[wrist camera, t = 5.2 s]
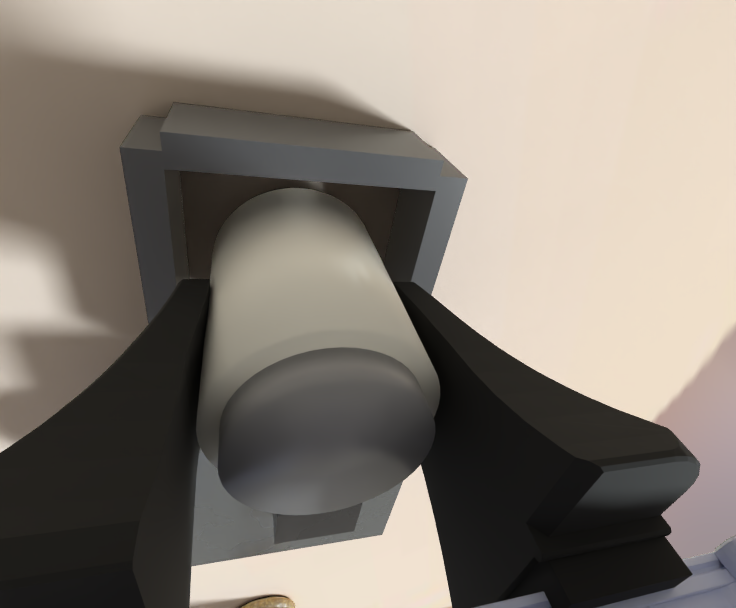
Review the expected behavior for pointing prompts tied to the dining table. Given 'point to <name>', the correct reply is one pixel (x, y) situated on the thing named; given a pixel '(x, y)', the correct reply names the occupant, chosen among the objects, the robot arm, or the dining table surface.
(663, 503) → the robot arm
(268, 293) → the white gray cylinder
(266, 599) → the sprinkles bottle
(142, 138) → the dark grey square tray
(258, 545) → the drawer
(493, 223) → the dining table surface
